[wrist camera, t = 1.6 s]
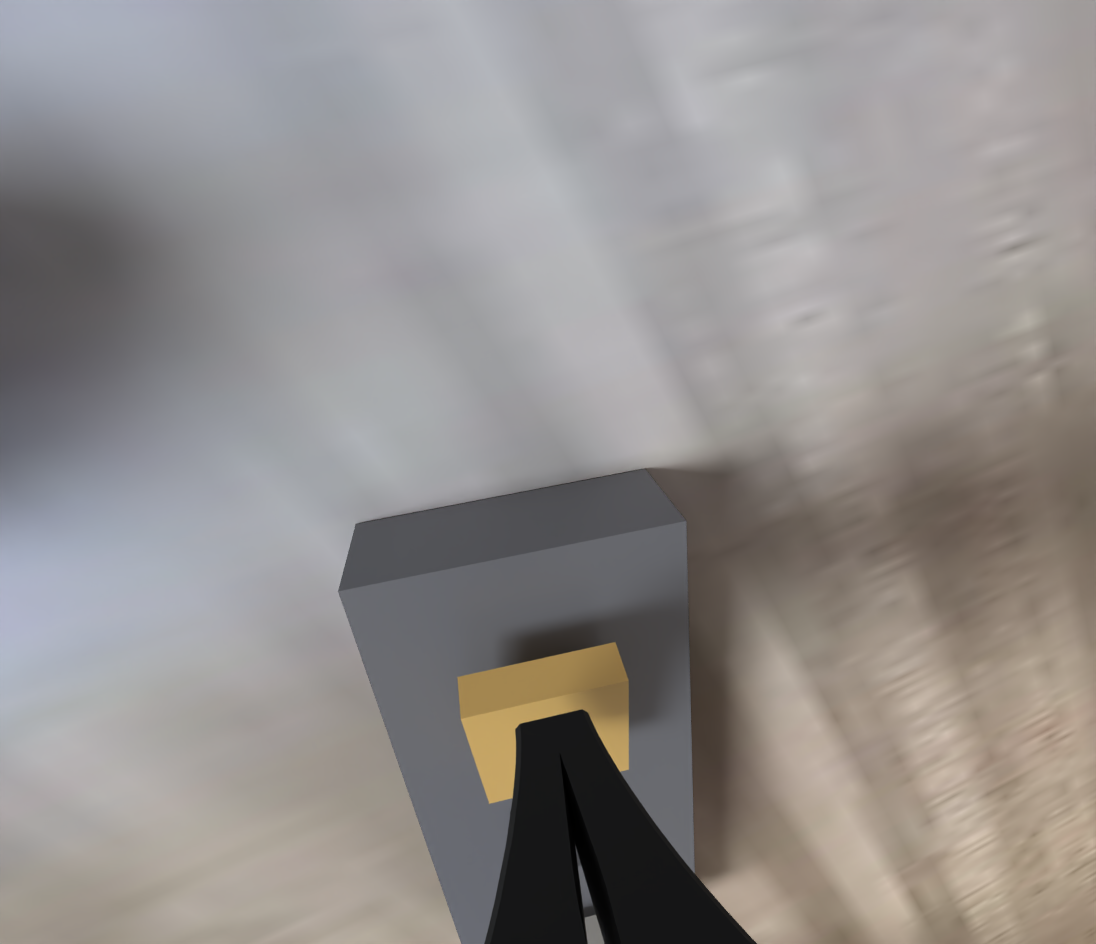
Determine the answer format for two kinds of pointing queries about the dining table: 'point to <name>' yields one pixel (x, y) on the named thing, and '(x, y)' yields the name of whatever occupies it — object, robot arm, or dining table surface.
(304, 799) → the dining table surface
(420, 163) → the dining table surface
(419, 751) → the power strip
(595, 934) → the white plug
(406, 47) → the dining table surface
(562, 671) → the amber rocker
